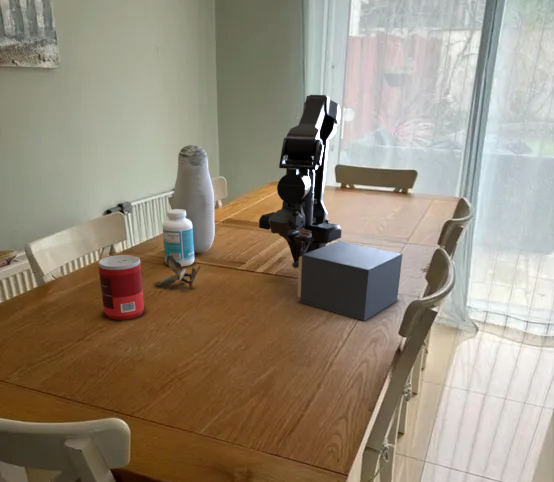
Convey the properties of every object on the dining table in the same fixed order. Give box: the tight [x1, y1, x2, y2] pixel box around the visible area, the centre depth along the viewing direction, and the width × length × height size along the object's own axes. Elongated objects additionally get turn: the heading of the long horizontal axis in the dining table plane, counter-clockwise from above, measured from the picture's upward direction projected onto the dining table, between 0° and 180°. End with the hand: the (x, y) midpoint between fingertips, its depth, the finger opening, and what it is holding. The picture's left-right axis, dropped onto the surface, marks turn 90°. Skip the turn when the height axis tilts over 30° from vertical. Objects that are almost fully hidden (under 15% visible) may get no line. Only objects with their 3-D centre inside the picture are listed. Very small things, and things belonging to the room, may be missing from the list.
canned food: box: [98, 254, 145, 321], centre depth 108 cm, size 8×8×11 cm
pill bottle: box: [161, 208, 195, 267], centre depth 138 cm, size 8×7×14 cm
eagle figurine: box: [156, 255, 201, 290], centre depth 124 cm, size 8×7×9 cm
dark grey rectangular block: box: [299, 240, 403, 322], centre depth 116 cm, size 16×15×11 cm
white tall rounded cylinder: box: [173, 144, 216, 254], centre depth 145 cm, size 10×10×28 cm
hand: (297, 264), depth 124 cm, fingers closed
